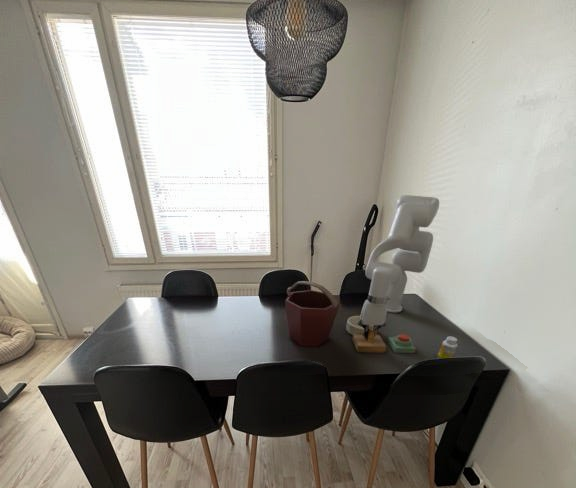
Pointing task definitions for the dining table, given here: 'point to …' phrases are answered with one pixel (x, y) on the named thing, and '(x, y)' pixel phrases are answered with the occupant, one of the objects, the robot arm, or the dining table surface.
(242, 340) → the dining table surface
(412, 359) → the dining table surface
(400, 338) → the button
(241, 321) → the dining table surface
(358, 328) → the basin
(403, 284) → the robot arm
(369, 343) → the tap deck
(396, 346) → the button block
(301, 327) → the bucket
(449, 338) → the supplement bottle
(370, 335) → the tap lever
